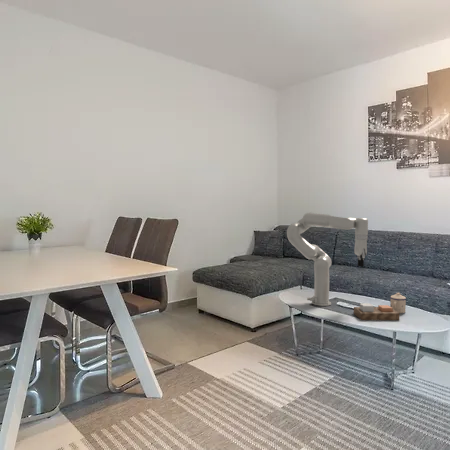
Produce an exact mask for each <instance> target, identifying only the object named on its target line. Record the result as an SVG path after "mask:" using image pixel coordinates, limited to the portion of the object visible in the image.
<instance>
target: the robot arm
mask: <svg viewBox="0 0 450 450" xmlns="http://www.w3.org/2000/svg"><path fill="white" fill-rule="evenodd" d="M311 227H322V228H329V229H338V230H344V231H345V230H346V231H347V230H352V229H354V230H355V231H354V233H355V235H354V254H355V255H356V256H357V266H358V267H364V264H365V258H366V256H367V254H368V243H367V241H368V237H369V236H368V235H369V233H368V231H369V219H368V218H366V217H342V216H334V215H331V214H328V213H327V214H325V213H316V212H312V211H311V212H306V213H304V214H303V216H302V217H301V218H300V219H299V220H298V221H297V222H292V223H291V224H290V225H288V227H287V229H286V237H287V239H288V241H289V243H290V244H291V245H292V246H293V247H294V248H295V249H296V250H297V251H298V252H300V253H301V254H302V256H304V257H305V258H306V259H308V260H312V261H313V262H314V263H313V269H314V286H313V288H314V289H313V290H314V291H313V294H314V295H313V296H312V297H309V296H308V297H306V300H307V301H310V302H311V304H313V305H315V306H320V307H328V306H331V305H332V302H331V301H330V267H331V266H332V258H331V257H330V256H329V255H328V254H327V253H326V252H325V251H324V250H323V249H322V248H320V247H319V245H316V244H313V243H312V244H311V243H309V241H307V240H306V239H305V238H304V237H303V236H302V235H301V234H303V233H305V232H306V231H307V230H308V229H310V228H311Z"/></svg>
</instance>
